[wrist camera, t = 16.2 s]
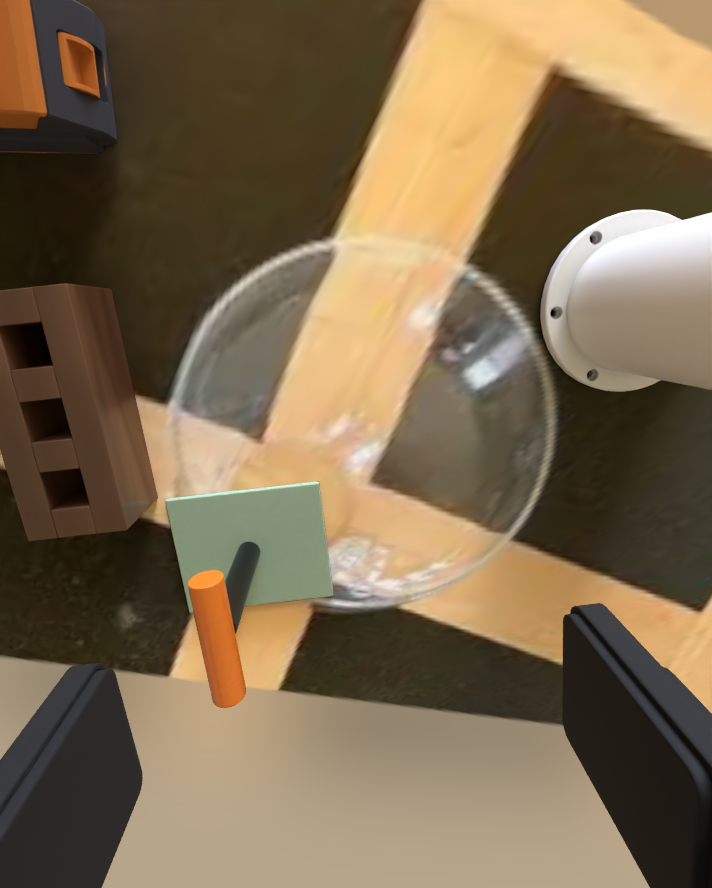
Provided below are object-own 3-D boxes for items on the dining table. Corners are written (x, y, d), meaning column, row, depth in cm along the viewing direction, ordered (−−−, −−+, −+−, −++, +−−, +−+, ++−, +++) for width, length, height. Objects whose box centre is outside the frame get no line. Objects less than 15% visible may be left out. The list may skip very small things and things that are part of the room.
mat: (318, 480, 39) (318, 483, 38) (333, 592, 41) (333, 596, 41) (167, 498, 38) (164, 500, 38) (191, 608, 41) (189, 613, 40)
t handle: (253, 503, 38) (219, 585, 27) (268, 593, 40) (243, 706, 29) (228, 506, 38) (182, 590, 27) (244, 596, 40) (209, 710, 29)
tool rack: (111, 288, 34) (66, 283, 29) (158, 498, 38) (127, 530, 33) (17, 298, 34) (-48, 295, 28) (74, 507, 38) (27, 541, 32)
